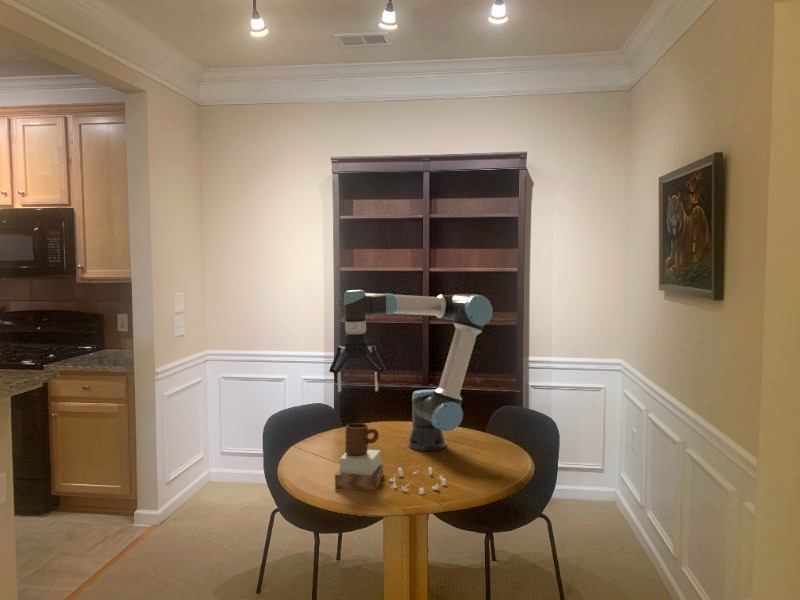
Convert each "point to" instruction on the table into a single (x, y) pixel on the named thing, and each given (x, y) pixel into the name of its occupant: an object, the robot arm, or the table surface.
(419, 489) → the game piece set
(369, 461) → the top block
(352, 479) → the base block
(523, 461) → the table surface
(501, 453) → the table surface
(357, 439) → the mug
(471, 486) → the table surface
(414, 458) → the table surface
